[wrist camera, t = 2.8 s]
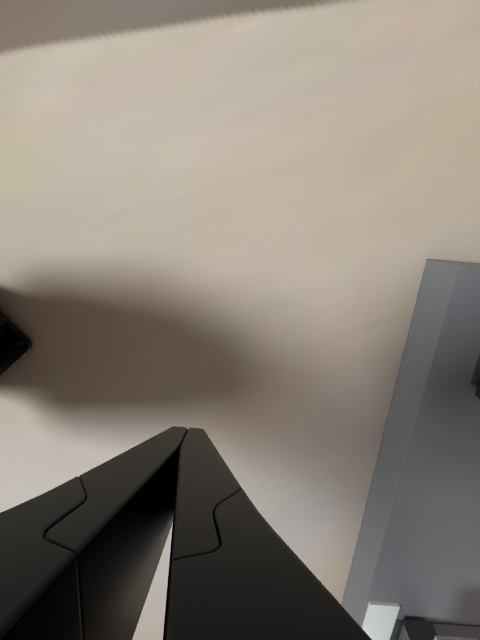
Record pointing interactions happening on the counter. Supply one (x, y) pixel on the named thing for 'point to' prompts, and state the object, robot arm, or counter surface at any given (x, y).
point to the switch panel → (427, 473)
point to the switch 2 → (478, 391)
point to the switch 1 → (421, 631)
